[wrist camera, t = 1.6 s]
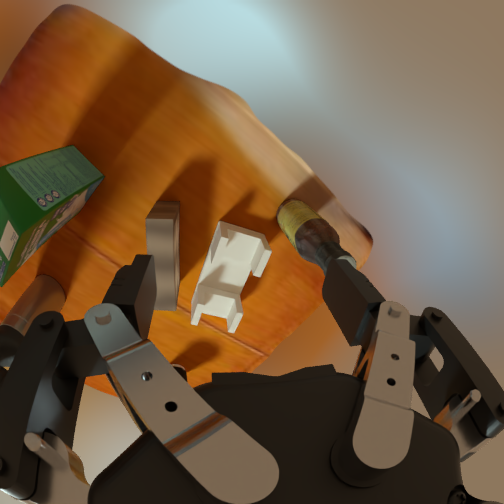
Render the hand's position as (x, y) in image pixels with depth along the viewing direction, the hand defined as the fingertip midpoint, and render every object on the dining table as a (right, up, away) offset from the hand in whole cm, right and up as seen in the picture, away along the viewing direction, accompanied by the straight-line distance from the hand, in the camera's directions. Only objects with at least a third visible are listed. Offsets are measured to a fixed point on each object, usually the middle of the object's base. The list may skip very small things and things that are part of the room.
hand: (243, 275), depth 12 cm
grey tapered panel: (-15, +3, +35) cm, 38 cm away
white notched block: (-5, -2, +39) cm, 40 cm away
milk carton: (-31, +14, +27) cm, 43 cm away
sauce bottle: (+8, +8, +36) cm, 38 cm away
